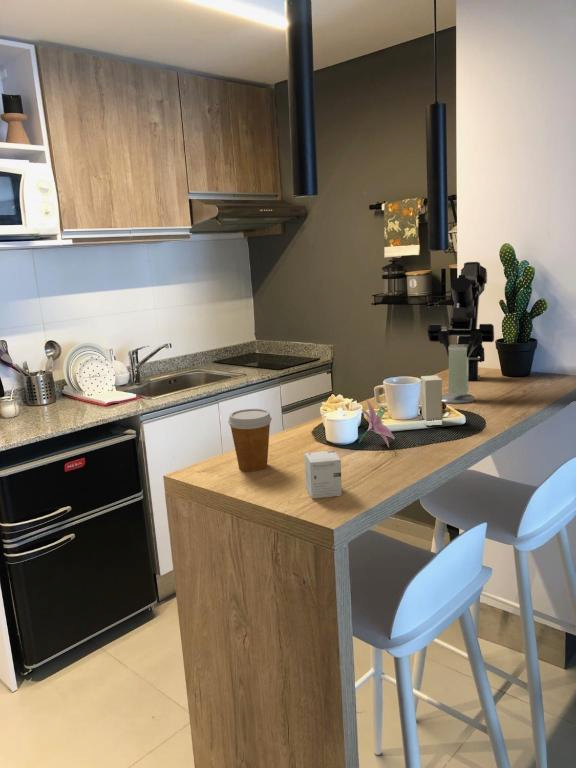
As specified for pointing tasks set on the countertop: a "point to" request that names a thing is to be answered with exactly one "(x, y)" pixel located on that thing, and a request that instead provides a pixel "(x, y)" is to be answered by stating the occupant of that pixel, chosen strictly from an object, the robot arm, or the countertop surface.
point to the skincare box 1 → (323, 474)
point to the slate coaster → (457, 398)
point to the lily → (376, 424)
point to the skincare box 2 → (431, 397)
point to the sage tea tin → (458, 369)
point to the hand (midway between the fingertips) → (458, 356)
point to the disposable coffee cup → (251, 437)
